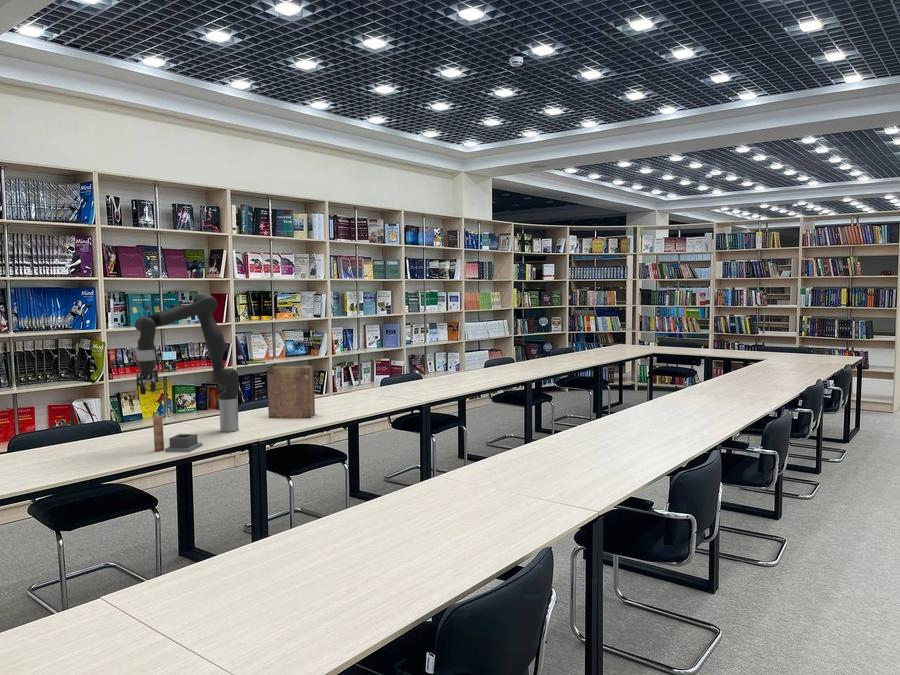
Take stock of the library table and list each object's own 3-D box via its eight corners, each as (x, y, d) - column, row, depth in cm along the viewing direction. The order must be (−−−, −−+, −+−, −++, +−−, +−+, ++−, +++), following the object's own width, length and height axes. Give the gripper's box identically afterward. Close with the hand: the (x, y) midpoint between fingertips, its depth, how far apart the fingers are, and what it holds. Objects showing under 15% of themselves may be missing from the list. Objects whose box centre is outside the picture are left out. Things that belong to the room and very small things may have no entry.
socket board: (178, 445, 309) (178, 433, 309) (202, 445, 308) (201, 433, 308) (165, 451, 298) (164, 439, 297) (189, 452, 296) (189, 439, 296)
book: (315, 415, 381) (313, 365, 378) (309, 418, 371) (308, 367, 369) (274, 414, 384) (273, 365, 382) (268, 417, 375) (266, 367, 373)
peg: (157, 449, 302) (156, 416, 301) (165, 449, 302) (164, 416, 301) (153, 451, 298) (151, 417, 297) (161, 451, 298) (159, 417, 297)
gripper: (147, 357, 311) (149, 390, 312) (130, 360, 297) (131, 395, 298) (162, 357, 310) (163, 390, 311) (145, 360, 296) (147, 395, 297)
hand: (148, 393), depth 305 cm, fingers open, 8 cm apart
